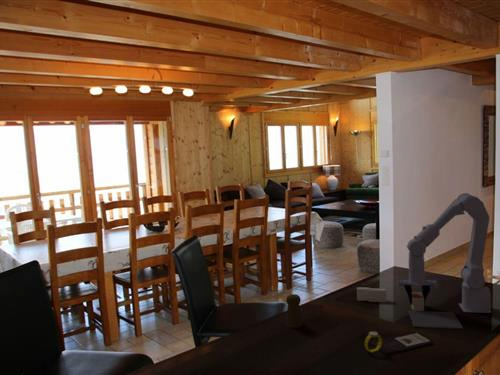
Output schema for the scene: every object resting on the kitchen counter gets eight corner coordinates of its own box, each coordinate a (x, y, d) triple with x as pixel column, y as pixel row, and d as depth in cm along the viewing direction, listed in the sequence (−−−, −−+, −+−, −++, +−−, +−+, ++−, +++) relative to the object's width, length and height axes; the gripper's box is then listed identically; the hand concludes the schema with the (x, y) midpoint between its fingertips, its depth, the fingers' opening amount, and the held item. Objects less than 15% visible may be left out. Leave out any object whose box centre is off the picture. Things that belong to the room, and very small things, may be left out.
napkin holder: (394, 301, 179) (393, 288, 178) (378, 309, 171) (378, 295, 171) (363, 293, 190) (362, 280, 189) (347, 300, 183) (347, 287, 182)
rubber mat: (453, 313, 162) (453, 312, 162) (463, 329, 149) (463, 327, 149) (408, 312, 166) (408, 310, 166) (414, 327, 152) (414, 326, 152)
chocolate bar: (368, 341, 142) (414, 331, 148) (368, 344, 142) (414, 334, 148) (385, 353, 134) (433, 342, 139) (385, 356, 134) (433, 345, 139)
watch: (377, 348, 139) (378, 330, 139) (383, 351, 137) (384, 333, 136) (362, 351, 137) (363, 332, 136) (368, 354, 134) (369, 336, 134)
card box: (420, 304, 173) (420, 292, 172) (424, 311, 166) (423, 298, 165) (410, 304, 174) (410, 291, 173) (413, 310, 167) (412, 298, 166)
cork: (304, 322, 162) (303, 293, 160) (299, 328, 156) (298, 299, 155) (289, 320, 164) (288, 291, 163) (283, 326, 159) (282, 297, 158)
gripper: (398, 272, 166) (398, 307, 167) (438, 273, 163) (439, 308, 164) (396, 267, 173) (396, 300, 174) (434, 268, 170) (435, 301, 171)
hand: (417, 304), depth 170 cm, fingers closed on card box, 4 cm apart
